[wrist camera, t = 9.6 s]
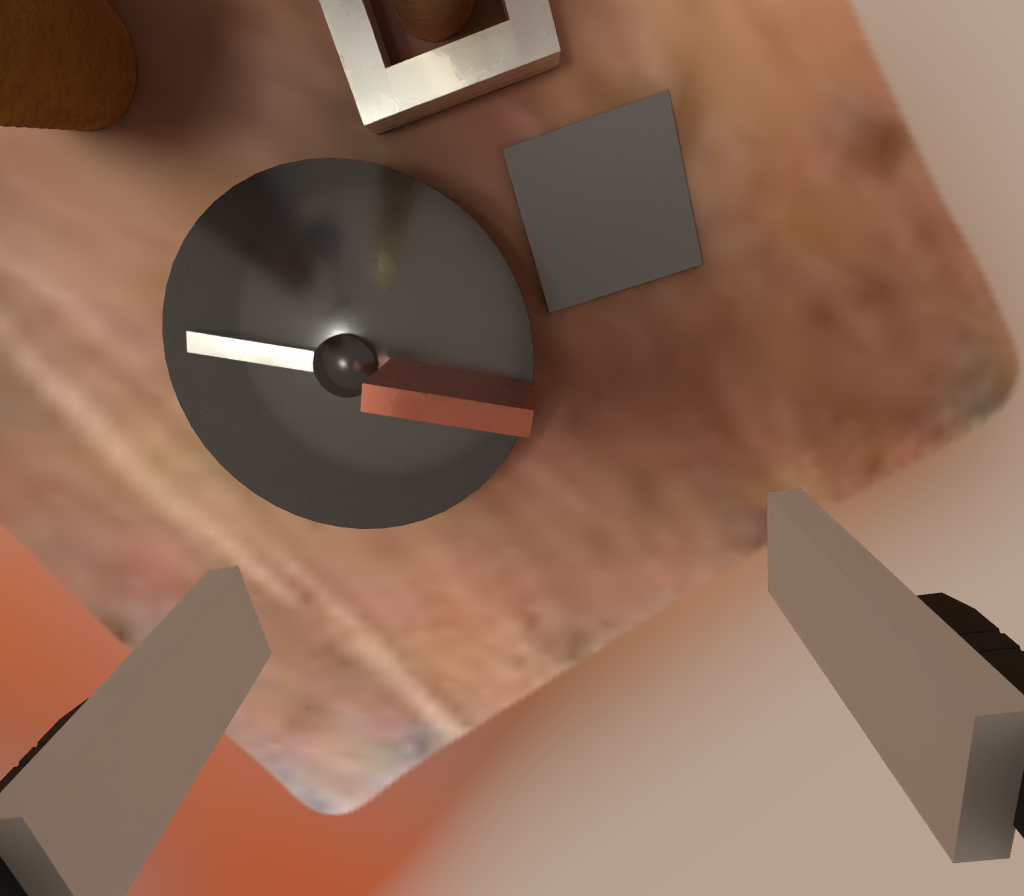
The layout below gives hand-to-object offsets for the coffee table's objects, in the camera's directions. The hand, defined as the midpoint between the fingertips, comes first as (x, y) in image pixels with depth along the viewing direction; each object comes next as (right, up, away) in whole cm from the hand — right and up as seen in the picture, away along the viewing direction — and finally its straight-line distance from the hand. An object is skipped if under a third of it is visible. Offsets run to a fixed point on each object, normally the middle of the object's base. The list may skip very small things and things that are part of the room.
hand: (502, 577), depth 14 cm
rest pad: (+5, +15, +14) cm, 21 cm away
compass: (-8, +8, +15) cm, 19 cm away
